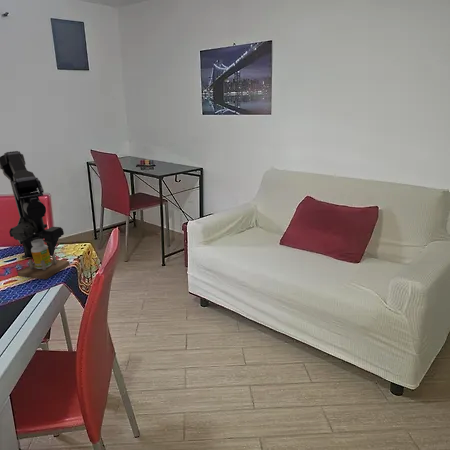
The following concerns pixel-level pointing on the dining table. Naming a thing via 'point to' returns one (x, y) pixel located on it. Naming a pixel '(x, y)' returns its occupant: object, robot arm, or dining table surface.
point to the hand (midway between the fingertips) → (41, 254)
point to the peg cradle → (43, 269)
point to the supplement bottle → (40, 253)
